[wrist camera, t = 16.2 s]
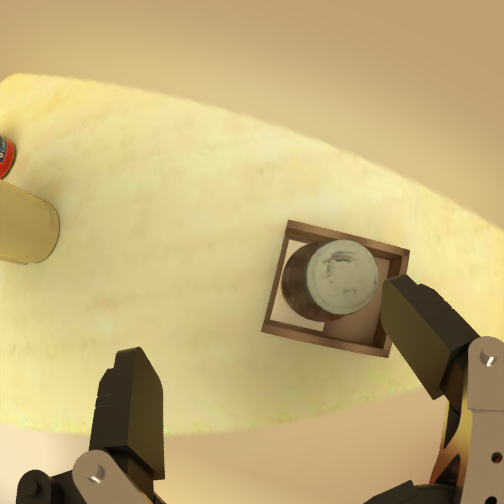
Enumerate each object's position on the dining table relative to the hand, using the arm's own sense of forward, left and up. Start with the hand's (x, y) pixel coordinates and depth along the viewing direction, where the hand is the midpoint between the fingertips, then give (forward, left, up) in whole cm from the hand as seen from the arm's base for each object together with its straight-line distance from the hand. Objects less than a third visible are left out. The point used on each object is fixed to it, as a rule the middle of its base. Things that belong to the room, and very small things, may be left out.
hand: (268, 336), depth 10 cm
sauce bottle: (+5, 0, -26) cm, 27 cm away
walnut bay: (+7, -2, -27) cm, 28 cm away
